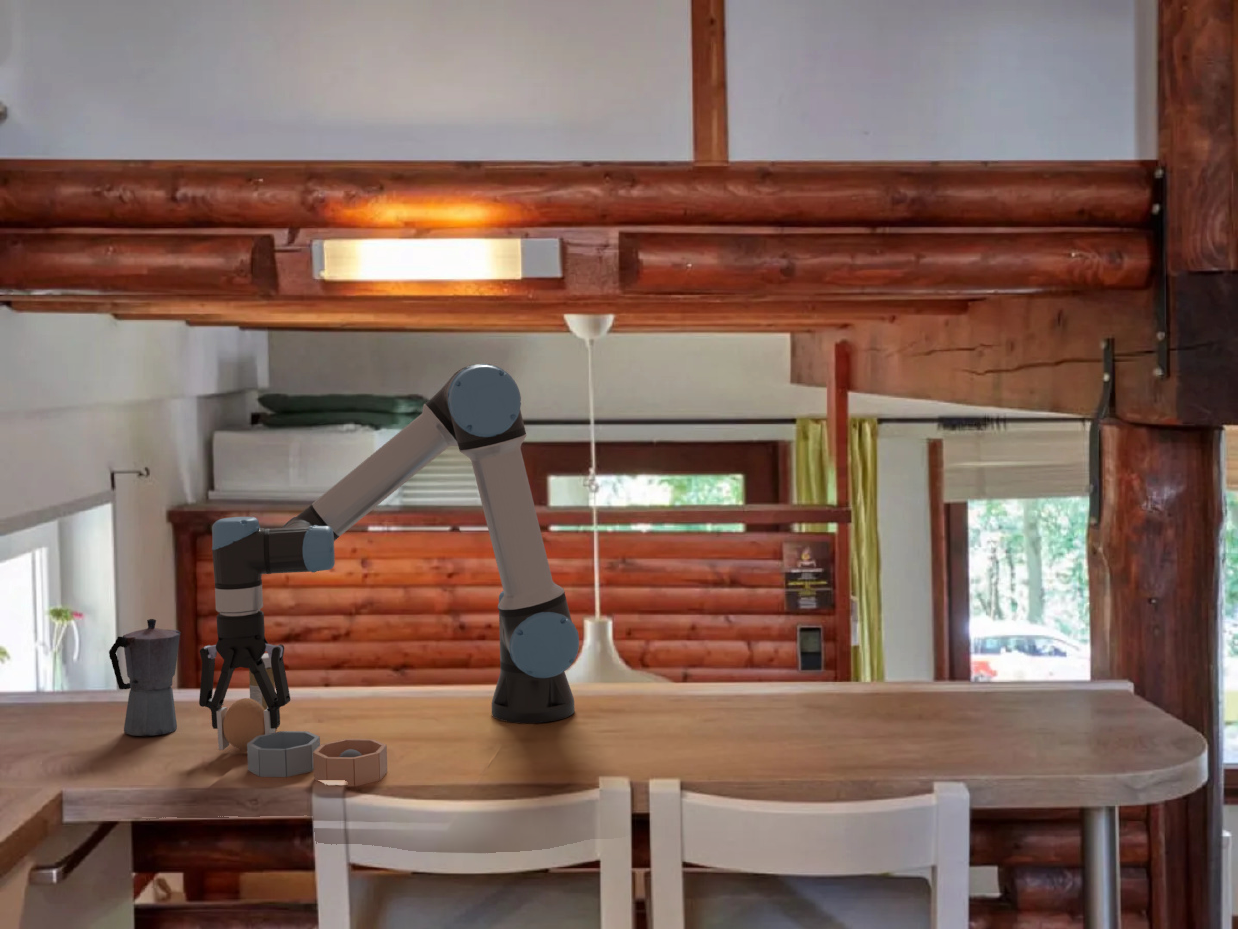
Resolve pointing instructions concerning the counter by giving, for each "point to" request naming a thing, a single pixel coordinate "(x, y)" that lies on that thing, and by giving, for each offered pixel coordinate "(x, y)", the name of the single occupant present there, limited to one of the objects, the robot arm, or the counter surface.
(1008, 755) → the counter surface
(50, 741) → the counter surface
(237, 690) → the counter surface
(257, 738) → the grey octagonal bowl
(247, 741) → the egg
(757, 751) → the counter surface
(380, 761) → the brown octagonal bowl
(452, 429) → the robot arm
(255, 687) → the sprinkles bottle
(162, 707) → the moka pot
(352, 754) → the rubber ball
